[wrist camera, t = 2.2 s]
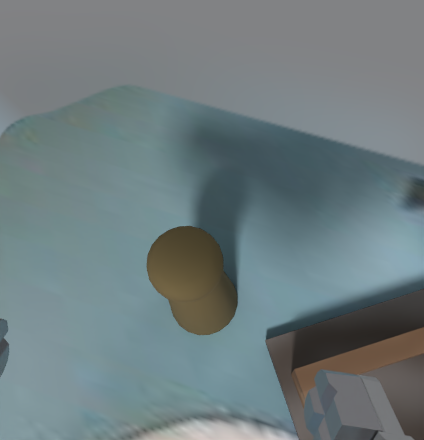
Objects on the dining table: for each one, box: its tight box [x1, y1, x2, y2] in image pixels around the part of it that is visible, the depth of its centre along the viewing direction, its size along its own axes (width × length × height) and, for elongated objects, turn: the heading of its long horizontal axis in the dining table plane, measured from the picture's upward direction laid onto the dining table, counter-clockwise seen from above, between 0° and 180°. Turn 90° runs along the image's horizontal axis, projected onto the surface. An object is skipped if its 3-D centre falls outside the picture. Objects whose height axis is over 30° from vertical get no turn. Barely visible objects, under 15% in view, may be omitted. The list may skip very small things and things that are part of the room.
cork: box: [147, 226, 237, 335], centre depth 29 cm, size 6×6×11 cm
